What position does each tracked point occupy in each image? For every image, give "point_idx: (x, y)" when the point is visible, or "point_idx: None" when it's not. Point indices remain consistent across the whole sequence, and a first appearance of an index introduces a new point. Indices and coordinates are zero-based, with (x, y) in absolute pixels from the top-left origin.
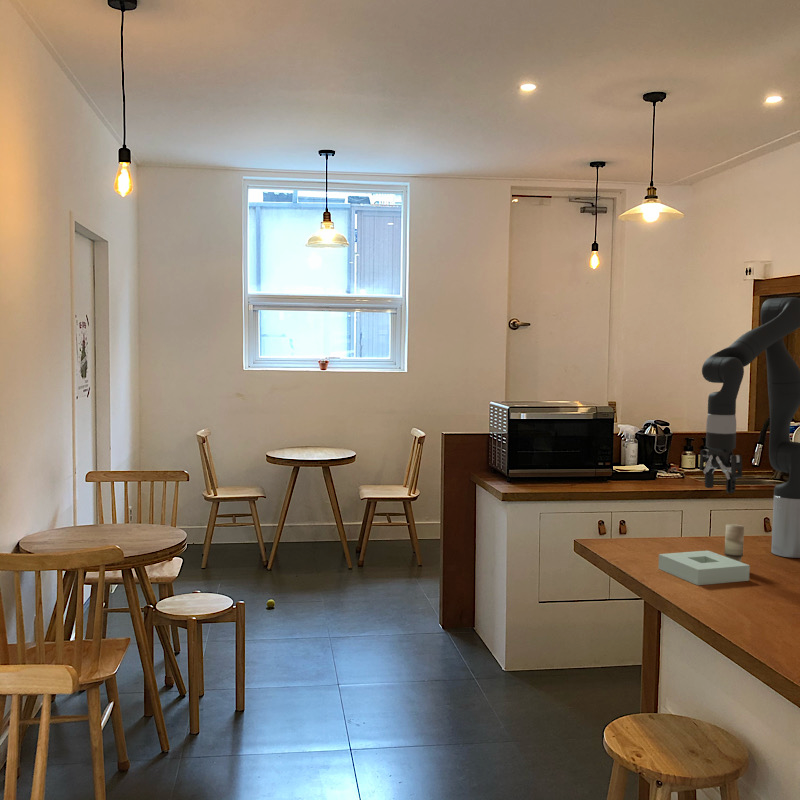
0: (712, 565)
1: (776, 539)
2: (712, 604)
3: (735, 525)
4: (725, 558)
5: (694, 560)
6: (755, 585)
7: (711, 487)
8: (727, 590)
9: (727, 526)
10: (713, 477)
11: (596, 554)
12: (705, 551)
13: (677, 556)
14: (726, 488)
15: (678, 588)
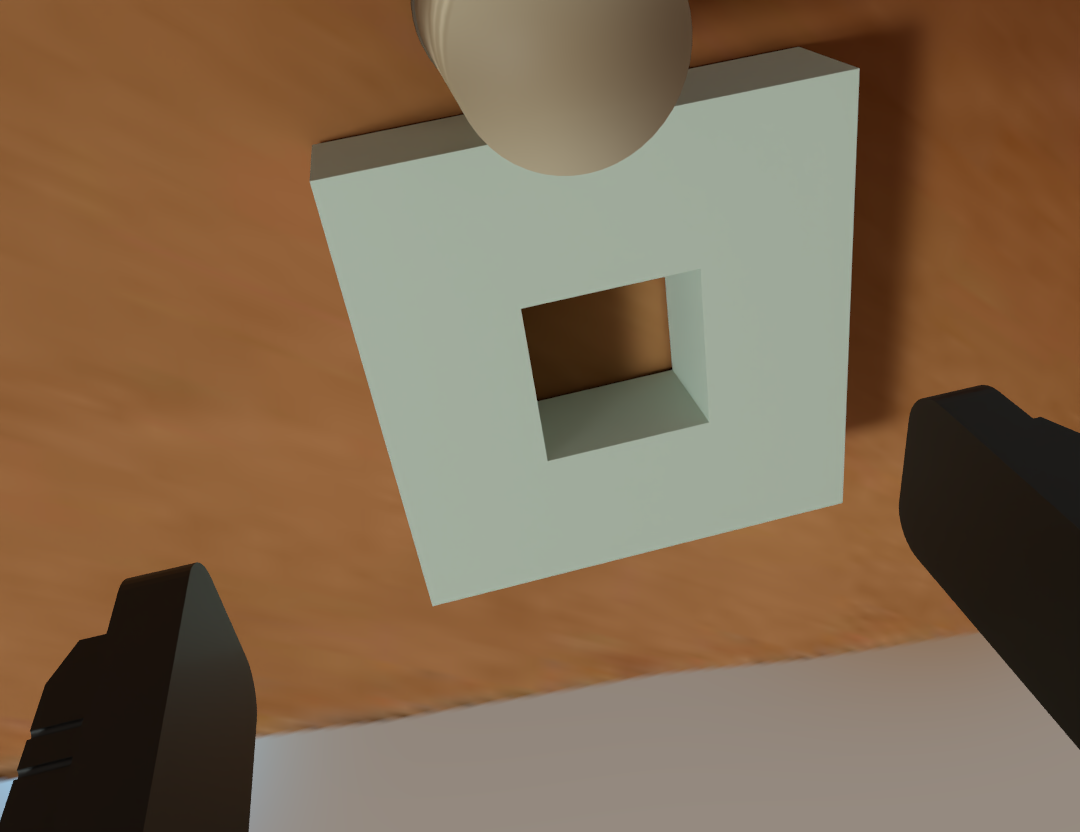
0: (781, 373)
1: None
2: None
3: (549, 24)
4: (618, 166)
5: (633, 441)
6: (889, 57)
7: (211, 590)
8: (914, 313)
9: (580, 174)
10: (161, 785)
11: None
12: (354, 227)
13: (509, 512)
14: (965, 600)
15: (800, 549)
